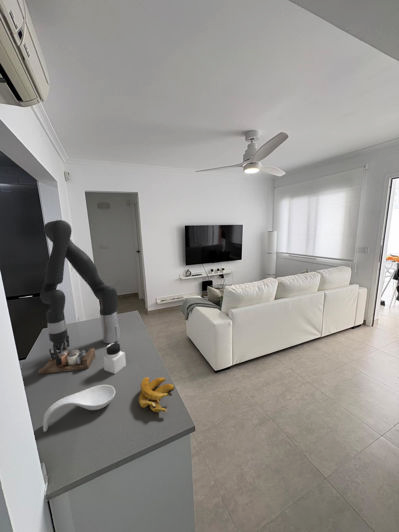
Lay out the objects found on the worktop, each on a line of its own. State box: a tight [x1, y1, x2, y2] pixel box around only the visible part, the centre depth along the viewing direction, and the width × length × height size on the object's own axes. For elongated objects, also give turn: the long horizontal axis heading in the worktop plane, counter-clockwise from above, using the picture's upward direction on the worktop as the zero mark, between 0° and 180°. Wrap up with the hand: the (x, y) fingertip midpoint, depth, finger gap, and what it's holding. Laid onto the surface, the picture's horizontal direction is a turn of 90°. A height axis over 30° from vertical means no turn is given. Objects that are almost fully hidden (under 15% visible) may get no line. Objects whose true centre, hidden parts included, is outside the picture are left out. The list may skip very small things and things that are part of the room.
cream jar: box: [67, 349, 80, 366], centre depth 107 cm, size 6×6×6 cm
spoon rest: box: [42, 384, 116, 433], centre depth 79 cm, size 24×12×7 cm, turn 126°
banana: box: [138, 377, 175, 413], centre depth 84 cm, size 15×19×6 cm
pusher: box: [77, 350, 86, 365], centre depth 108 cm, size 1×7×5 cm, turn 7°
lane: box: [38, 347, 96, 374], centre depth 107 cm, size 22×10×5 cm, turn 97°
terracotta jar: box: [55, 350, 69, 367], centre depth 107 cm, size 6×6×6 cm
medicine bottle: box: [102, 342, 127, 375], centre depth 103 cm, size 7×7×12 cm
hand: (62, 361), depth 107 cm, fingers closed on terracotta jar, 5 cm apart
